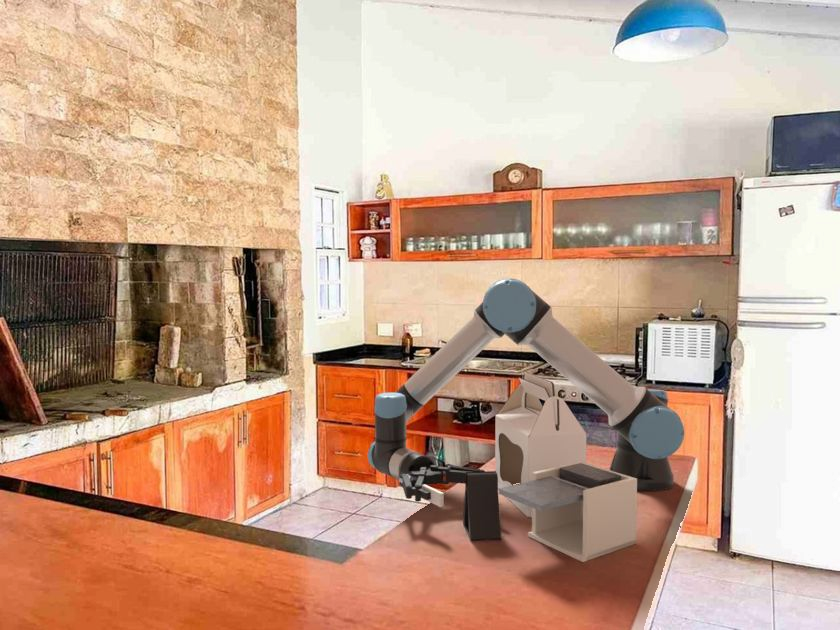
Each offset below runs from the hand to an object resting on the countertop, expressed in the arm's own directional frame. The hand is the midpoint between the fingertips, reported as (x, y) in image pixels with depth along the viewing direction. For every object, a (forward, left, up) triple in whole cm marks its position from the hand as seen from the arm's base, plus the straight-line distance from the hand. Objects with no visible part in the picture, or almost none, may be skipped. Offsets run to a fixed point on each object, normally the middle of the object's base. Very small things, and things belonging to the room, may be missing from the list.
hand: (469, 493), depth 132 cm
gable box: (-24, -5, -7) cm, 25 cm away
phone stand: (-1, +3, -7) cm, 8 cm away
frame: (-14, +17, -7) cm, 23 cm away
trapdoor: (-8, +17, +2) cm, 19 cm away
